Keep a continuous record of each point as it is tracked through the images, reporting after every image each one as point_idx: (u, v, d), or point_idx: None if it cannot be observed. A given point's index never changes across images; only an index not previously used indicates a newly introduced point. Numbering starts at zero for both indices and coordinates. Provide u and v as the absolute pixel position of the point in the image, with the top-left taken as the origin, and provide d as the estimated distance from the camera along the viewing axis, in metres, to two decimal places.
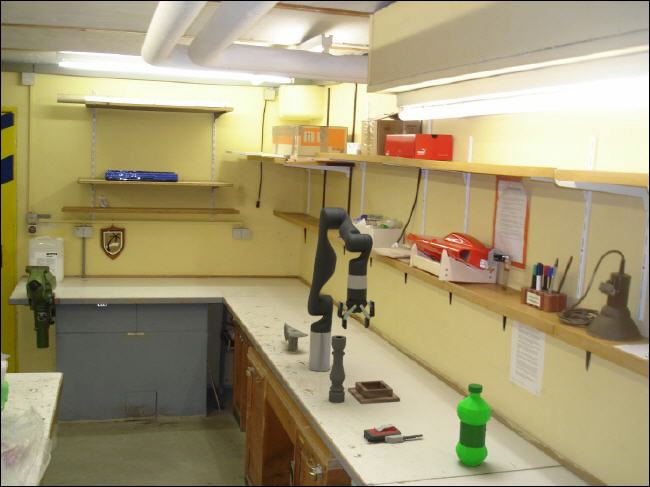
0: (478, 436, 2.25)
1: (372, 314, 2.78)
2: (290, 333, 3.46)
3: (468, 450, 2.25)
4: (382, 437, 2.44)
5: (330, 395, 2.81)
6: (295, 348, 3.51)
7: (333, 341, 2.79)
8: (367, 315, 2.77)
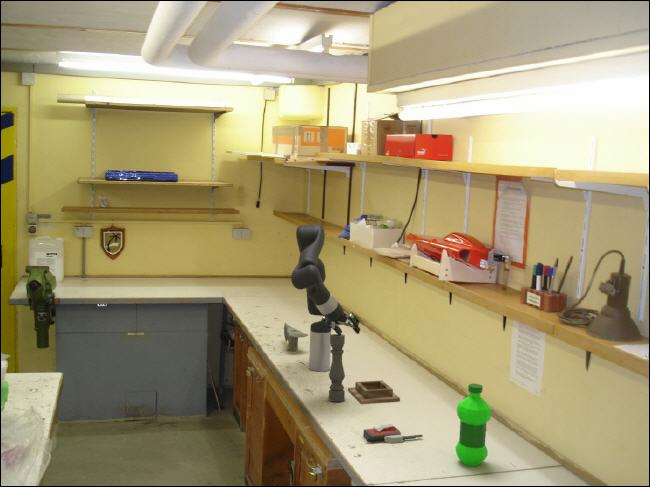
0: (478, 436, 2.25)
1: (355, 325, 2.74)
2: (290, 333, 3.46)
3: (468, 450, 2.25)
4: (381, 437, 2.44)
5: (330, 394, 2.82)
6: (295, 348, 3.51)
7: (332, 339, 2.81)
8: (351, 326, 2.75)
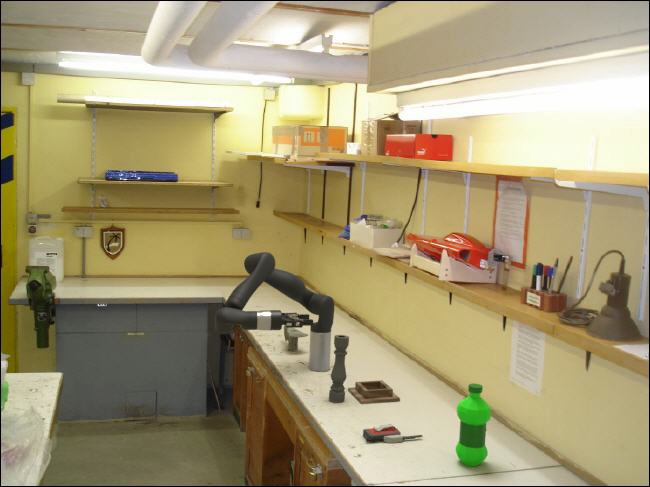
0: (478, 436, 2.25)
1: None
2: (290, 333, 3.46)
3: (468, 450, 2.25)
4: (381, 437, 2.44)
5: (330, 394, 2.81)
6: (295, 348, 3.51)
7: (336, 340, 2.79)
8: None
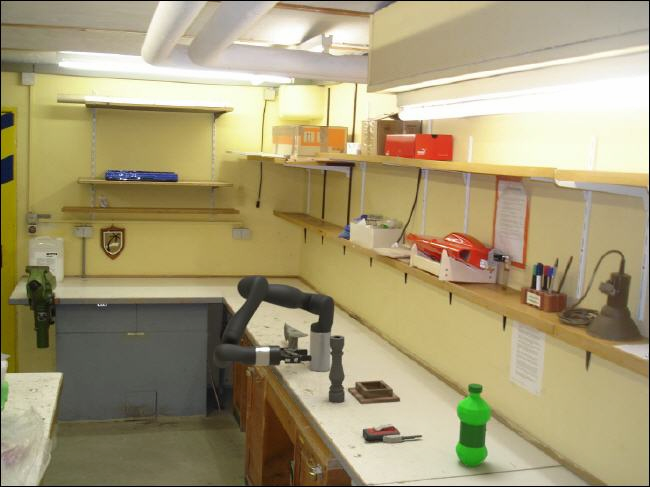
0: (478, 436, 2.25)
1: None
2: (290, 333, 3.46)
3: (468, 450, 2.25)
4: (380, 437, 2.44)
5: (330, 395, 2.81)
6: (295, 348, 3.51)
7: (331, 341, 2.78)
8: None
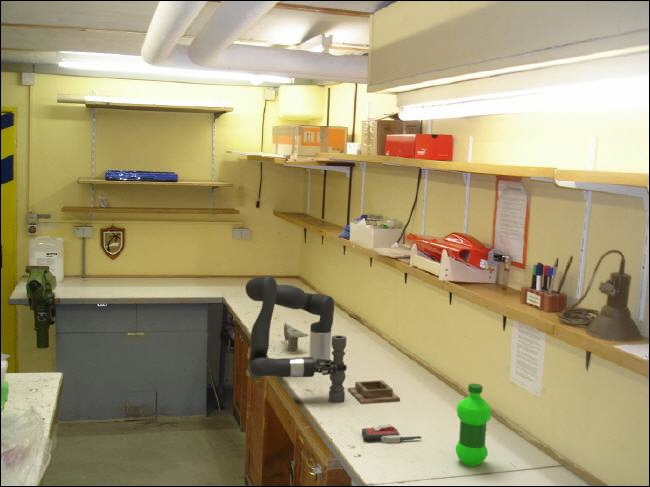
0: (478, 436, 2.25)
1: None
2: (290, 333, 3.46)
3: (468, 450, 2.25)
4: (378, 437, 2.44)
5: (330, 395, 2.81)
6: (295, 348, 3.51)
7: (333, 341, 2.79)
8: None
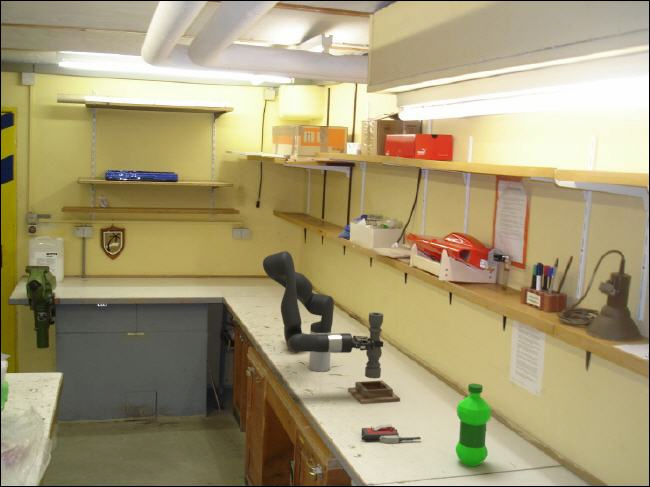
0: (478, 436, 2.25)
1: None
2: None
3: (468, 450, 2.25)
4: (377, 436, 2.44)
5: (366, 371, 2.87)
6: None
7: (370, 317, 2.84)
8: None
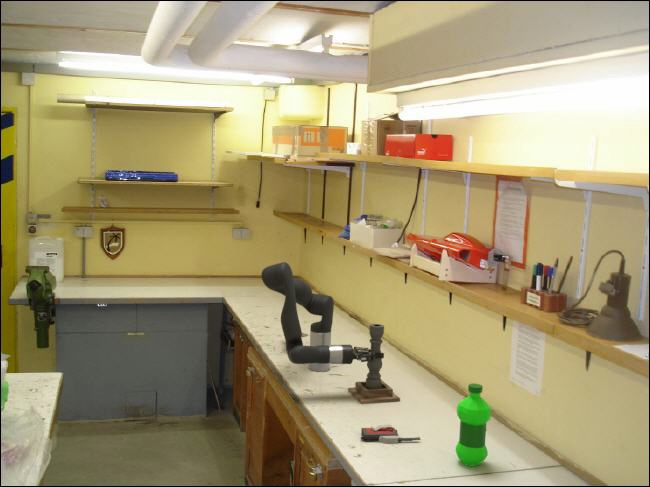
0: (478, 436, 2.25)
1: None
2: None
3: (468, 450, 2.25)
4: (376, 436, 2.44)
5: (367, 382, 2.87)
6: None
7: (371, 329, 2.85)
8: None
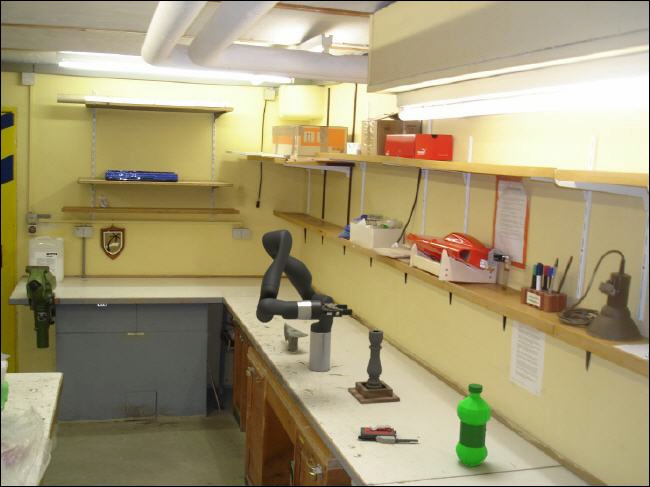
0: (478, 436, 2.25)
1: None
2: (290, 333, 3.46)
3: (468, 450, 2.25)
4: (374, 436, 2.44)
5: (367, 388, 2.88)
6: (295, 348, 3.51)
7: (371, 335, 2.85)
8: None
